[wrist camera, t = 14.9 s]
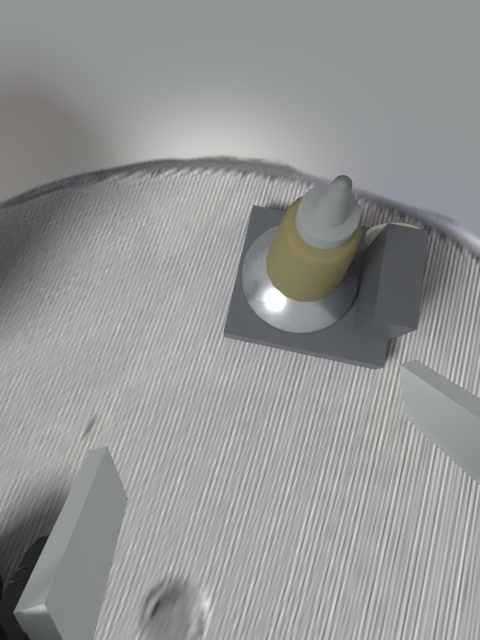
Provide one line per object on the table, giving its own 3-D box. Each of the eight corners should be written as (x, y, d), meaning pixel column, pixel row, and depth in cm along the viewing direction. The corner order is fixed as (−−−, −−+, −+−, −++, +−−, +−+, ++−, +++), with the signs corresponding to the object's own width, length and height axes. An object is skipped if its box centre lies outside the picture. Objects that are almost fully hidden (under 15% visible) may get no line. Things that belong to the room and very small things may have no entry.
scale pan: (230, 320, 41) (230, 318, 40) (254, 216, 43) (254, 212, 42) (345, 345, 40) (348, 343, 39) (362, 237, 43) (365, 234, 42)
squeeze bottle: (350, 284, 40) (433, 197, 23) (291, 325, 39) (331, 267, 22) (306, 229, 42) (353, 107, 24) (249, 267, 41) (254, 169, 23)
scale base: (224, 336, 43) (219, 319, 34) (252, 217, 47) (255, 169, 37) (382, 371, 42) (424, 363, 33) (399, 246, 46) (442, 205, 36)
